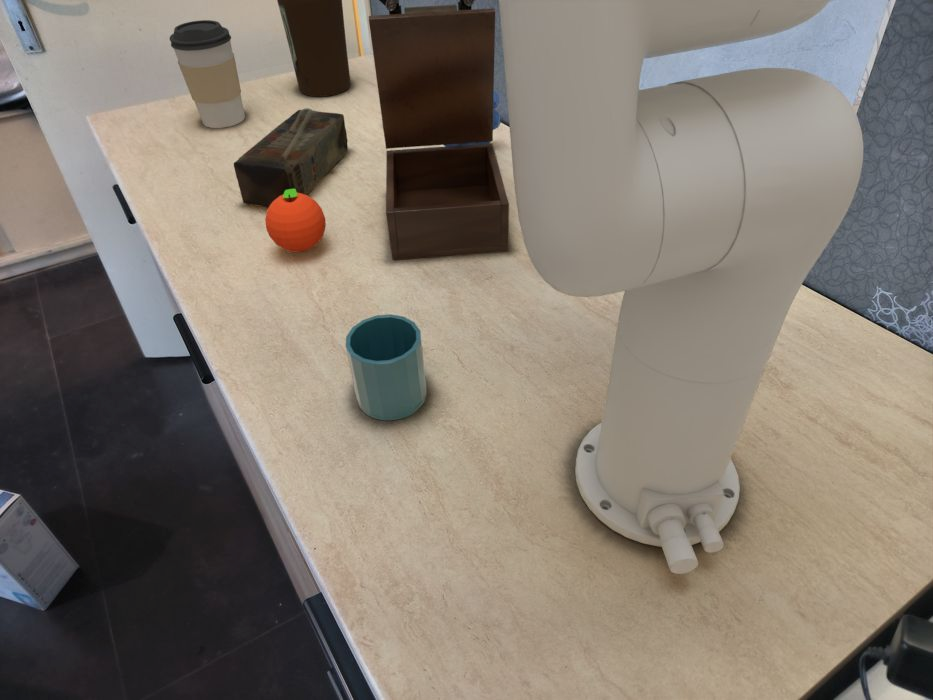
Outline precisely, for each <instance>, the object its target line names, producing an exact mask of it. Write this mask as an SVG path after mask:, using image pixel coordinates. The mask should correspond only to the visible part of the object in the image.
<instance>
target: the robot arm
mask: <svg viewBox="0 0 933 700" xmlns="http://www.w3.org/2000/svg"><path fill="white" fill-rule="evenodd" d="M378 1H379V2H380V3H381V4H382V5H384V6H385V8H386V10H387V11H388V15H391V14H403V13H402V5H400V0H378ZM475 1H476V0H459V1H458V2H457V10H473V9H472V7H473V5H474V4H475ZM830 1H831V0H498V8H499V19H500V20H499V21H500V30H501V31H500V32H501V33H500V34H501V42H502V54H503V66H504V77H505V79H504V80H505V90H506V103H507V113H508V123H509V124H508V125H509V137H510V150H511V159H512V160H511V161H512V162H511V163H512V175H513V184H514V193H515V194H514V195H515V202H516V209H517V210H516V211H517V217H518V222H519V227H520V231H521V235H522V240H523V243H524V247H525V250H526V252H527V255H528V257H529V259H530V261H531V263H532V265H533V268H534V269H535V270H536V272H537V274H538V275H539V277H541V279H542V280H543V281H544V282H545V283H546V284H547V285H548V286H550V287H551V288H553V289H554V290H556V291H557V292H560V293H562V294H564V295H568V296H572V297H578V298H594V297H602V296H608V295H613V294H618V293H622V292H623V296H622V300H621V303H620V308H619V316H618V320H617V326H616V331H615V338H614V344H613V345H614V346H613V349H612V356H611V363H610V369H609V375H608V382H607V387H606V393H605V401H604V407H603V414H602V420H601V422H599V423H598V424H597V425H595V426H594V427H593V428H592V429H590V431H589V432H588V433H587V434H586V435H585V436H584V438H583V439H582V440H581V443H580V445H579V446H578V449H577V453H576V459H575V469H574V474H575V481H576V487H577V489H578V492H579V494H580V496H581V498H582V500H583V501H584V503H585V504H586V505H587V508H588V509H589V510H590V511H591V513H593V514H594V516H595V517H596V518H597V519H598V520H599V521H600V522H601V523H603V524H604V525H605V526H607V527H608V528H609V529H611V530H612V531H613V532H616V533H618V534H619V535H621V536H623V537H625V538H626V539H629V540H633V541H635V542H638V543H641V544H644V545H649V546H655V547H659V548H662V552H663V555H664V557H665V560H666V563H667V565H668V568H669V570H670V571H669V572H671V573H672V574H676V575H684V574H688V573H691V572H692V571H694V570H695V569H697V568H698V566H699V561H698V557H697V555H696V553H695V551H694V548H693V545H696V544H698V543H701V545H702V548H703V550H704V552H706V553H710V554H711V553H716V552H719V551H721V550H722V549H723V548H724V547H725V543H724V541H723V539H722V536H721V533H720V532H721V531H722V530H723V529H724V528H725V527H726V526H727V525H728V524H729V522H730V520H731V519H732V517H733V515H734V513H735V511H736V508H737V505H738V503H739V499H740V489H741V485H740V478H739V474H738V471H737V469H736V467H735V463H734V461H733V460H732V456H733V453H734V451H735V448H736V445H737V443H738V440H739V437H740V435H741V432H742V430H743V427H744V425H745V422H746V420H747V417H748V414H749V412H750V408H751V406H752V404H753V401H754V399H755V395H756V392H757V390H758V388H759V385H760V382H761V380H762V376H763V375H764V373H765V371H766V367H767V364H768V361H769V360H770V357H771V355H772V352H773V350H774V347H775V344H776V342H777V340H778V337H779V334H780V332H781V330H782V328H783V325H784V322H785V320H786V317H787V315H788V313H789V310H790V309H791V307H792V304H793V302H794V300H795V298H796V297H797V294H798V292H799V290H800V289H801V287H802V285H803V283H804V281H805V280H806V278H807V277H808V275H809V273H810V272H811V270H813V267H814V266H815V264H817V261H818V260H819V258H820V257H821V255H822V254H823V252H824V251H825V249H826V248H827V246H829V244H830V242H831V240H832V239H833V237H834V235H835V234H836V232H837V231H838V229H839V227H840V225H841V224H842V222H843V220H844V219H845V216H846V215H847V213H848V211H849V209H850V206H851V204H852V202H853V200H854V197H855V194H856V191H857V188H858V185H859V182H860V179H861V176H862V169H863V163H864V139H863V138H864V137H863V132H862V128H861V127H862V126H861V125H860V121H859V117H858V114H857V113H856V110H855V109H854V107H853V105H852V104H851V103H852V102H850V100H849V99H848V98H847V97H846V95H845V94H844V93H843V92H842V91H841V90H840V89H838V88H837V87H836V86H835V85H834V84H833V83H831V82H830V81H828V80H826V79H824V78H822V77H820V76H819V75H816V74H813V73H810V72H808V71H805V70H800V69H795V68H786V67H785V68H784V67H761V68H760V67H759V68H749V69H742V70H736V71H730V72H724V73H719V74H714V75H709V76H703V77H697V78H692V79H691V78H690V79H686V80H681V81H676V82H672V83H671V82H670V83H668V84H665V85H660V86H653V87H649V88H643V89H642V88H641V89H640V81H641V75H642V74H641V73H642V68H643V64H644V60H645V59H651V58H657V57H663V56H669V55H673V54H681V53H687V52H692V51H698V50H702V49H703V50H704V49H709V48H714V47H719V46H725V45H731V44H736V43H741V42H747V41H752V40H756V39H760V38H765V37H769V36H774V35H776V34H780V33H782V32H786V31H789V30H791V29H793V28H795V27H797V26H799V25H802V24H804V23H805V22H808V21H809V20H811V19H812V18H814V17H815V16H816V15H817V14H819V13H820V12H822V10H824V8H825V7H826V6H827V5H828V4H829V3H830Z"/></svg>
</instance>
